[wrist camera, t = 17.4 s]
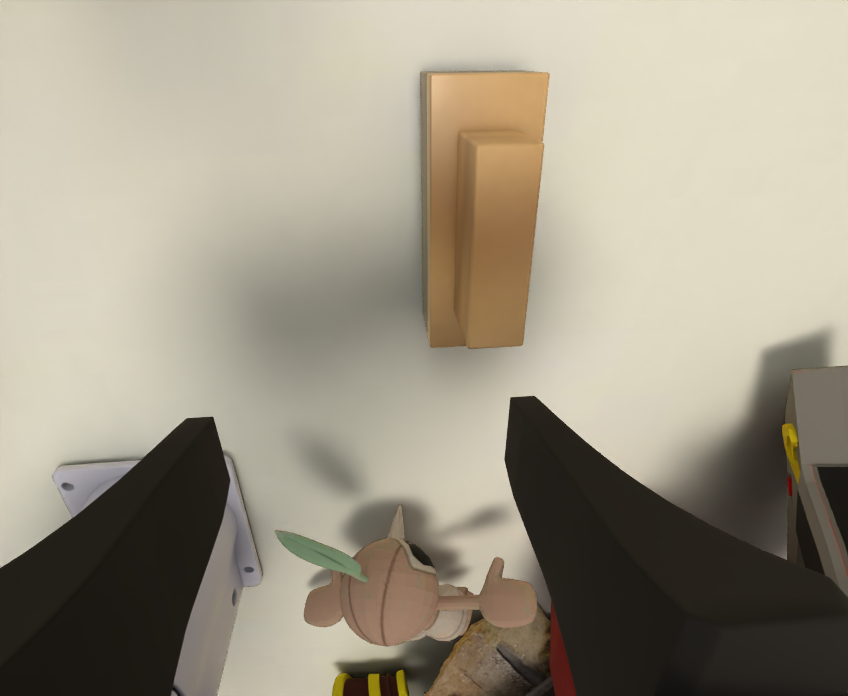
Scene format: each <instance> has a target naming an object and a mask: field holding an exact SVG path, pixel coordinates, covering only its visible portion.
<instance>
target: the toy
mask: <svg viewBox="0 0 848 696" xmlns="http://www.w3.org/2000/svg"><path fill="white" fill-rule="evenodd" d="M275 533H276V535H277V537H278V539H279V541H280V542H281V543H282V544H283V545H284V546H285V547H286V548H287V549H288V550H289V551H290V552H292V553H293V554H295V555H297V556H298V557H300V558H302V559H304V560H306V561H308V562H311V563H313V564H316V565H318V566H321V567H324V568H327V569H331V570H332V582H331V583H330V584H329V585H326V586H322V587H318V588H316V589H314V590H312V591H311V592H310V593H309V595H308V597H307V600H306V604H305V609H304V619H305V621H306V622H307V623H308V624H311V625H314V626H318V627H329V626H332V625H334V624H336V623H337V622H339V621H340V620H341V618H342V617H344V619H345V620H346V622H347V624H348V626H349V627H350V628H351V629H352V630H353V631H354V632H355V633H356V634H357V635H358V636H359V637H360V638H362V639H364V640H365V641H367V642H369V643H371V644H376V645H381V646H393V645H399V644H401V643H403V642H406V641H416V640H419V639H422V638H423V637H424V636H430V637H431V638H433V639H436V640H438V641H450V640H453V639H455V638H456V637H457V636H462V635H463V634H465V632H466V630H467V629H468V626H469V623H470V620H471V616H472V611H473V610H480V611H481V613H482V615H483V616H484V618H485V619H486V620H487V621H488V622H489V623H491V624H493V625H495V626H497V627H502V628H512V627H519V626H524V625H527V624H529V623H531V622H533V621H534V619H535V617H536V615H537V596H536V591H535V589H534V588H533V586H532V585H531V584H529V583H527V582H524V581H520V580H514V579H506V578H502V572H503V568H504V561H503V560H502V559H501V558H499V557H496V558H494V560H493V562H492V565H491V567H490V569H489V572H488V574H487V576H486V580H485V583H484V586H483V588H482V590H481V593H480V595H474V594H473V593H471V592H469V591H468V589H467V588H466V587H455V586H453V585H449V584H444V585H438V581H437V576H436V572H435V567H434V566H433V564H432V562H431V560H430V558H429V557H428V556H427V555H426V554H425V553H424V552H423V551H422V550H421V548H419V547H418V546H416V545H415V544H412V543H410V542H408V541H406V540H405V537H404V525H403V515H402V507H401V505H399V506H398V509H397V512H396V514H395V517H394V520H393V522H392V525H391V528H390V531H389V534H388V537H387V538H386V539H382V540H378V541H374V542H372V543H371V544H369V545H367V546H366V547H364V548H362V549H361V550H360V551H359V552H358V553H357V554H356V555H355V556H354V557H353V558H352V557H350V556H348V555H346V554H345V553H343V552H341V551H338V550H336V549H334V548H332V547H329V546H327V545H324V544H321V543H319V542H317V541H314V540H311V539H309V538H306V537H303V536H301V535H297V534H294V533H290V532H286V531H279V530H275ZM343 573H344V575H343Z"/></svg>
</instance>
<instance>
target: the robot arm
mask: <svg viewBox="0 0 848 696" xmlns="http://www.w3.org/2000/svg"><path fill="white" fill-rule="evenodd" d="M505 464H506V468H507V472H508V477H509V481H510V485H511V489H512V493H513V496H514V499H515V502H516V505H517V507H518V510H519V513H520V515H521V518H522V521H523V523H524V526H525V528H526V531H527V534H528V536H529V539H530V541H531V544H532V547H533V549H534V552H535V554H536V557H537V560H538V562H539V565H540V567H541V570H542V572H543V575H544V578H545V581H546V584H547V587H548V590H549V593H550V596H551V599H552V603H553V607H554V610H555V614H556V618H557V621H558V625H559V628H560V632H561V636H562V640H563V643H564V647H565V651H566V655H567V659H568V663H569V667H570V671H571V674H572V678H573V682H574V687H575V691H576V695H577V696H848V693H847V692H846V691H847V690H848V597H847V596H846V594H845V593H844V592H843V591H842V590H841V589H840V588H839V587H838V586H837V585H836V583H835V582H834V581H833V580H832V579H831V578H830V577H827V576H825V575H822V574H820V573H818V572H815V571H813V570H810V569H808V568H805V567H803V566H800V565H798V564H795V563H793V562H790V561H788V560H785V559H783V558H780V557H778V556H776V555H773V554H771V553H768V552H766V551H764V550H762V549H759V548H757V547H755V546H753V545H751V544H749V543H747V542H745V541H742V540H740V539H738V538H736V537H734V536H732V535H730V534H728V533H726V532H724V531H722V530H720V529H718V528H716V527H714V526H712V525H710V524H708V523H706V522H704V521H703V520H701V519H699V518H697V517H695V516H694V515H692V514H690V513H688V512H686V511H684V510H683V509H681V508H679V507H677V506H676V505H674V504H672V503H671V502H669V501H667V500H666V499H664V498H662V497H661V496H659V495H658V494H656V493H655V492H653V491H652V490H650V489H649V488H647V487H645V486H644V485H642V484H641V483H639V482H638V481H636V480H635V479H633V478H632V477H631V476H629V475H628V474H626V473H625V472H624V471H622V470H621V469H620V468H618V467H617V466H616V465H614V464H613V463H612V462H610V461H609V460H608V459H606V458H605V457H604V456H603V455H601V454H600V453H599V452H598V451H596V450H595V449H594V448H593V447H591V446H590V445H589V444H588V443H587V442H585V441H584V440H583V439H582V438H581V437H580V436H578V435H577V434H576V433H575V432H574V431H573V430H572V429H570V428H569V427H568V426H567V425H566V424H565V423H564V422H563V421H562V420H560V419H559V418H558V417H557V416H556V415H555V414H554V413H553V412H552V411H551V410H550V409H548V408H547V407H546V406H545V405H544V404H543V403H542V402H541V401H540V400H539V399H537V398H536V397H535V396H527V397H511V399H510V409H509V419H508V429H507V440H506V450H505ZM52 478H53V480H54V482H55V484H56V486H57V488H58V490H59V492H60V494H61V496H62V498H63V500H64V502H65V504H66V506H67V508H68V509H69V511H70V513H71V515H72V517H73V518H72V519H71V520H69V521H68V522H67V523H65V524H64V525H63V526H61V527H60V528H59V529H57V530H56V531H54V532H53V533H52V534H50V535H49V536H47V537H46V538H45V539H43V540H42V541H40V542H39V543H38V544H36V545H35V546H33V547H32V548H31V549H29V550H28V551H26V552H25V553H23V554H22V555H20V556H19V557H17V558H15V559H14V560H12V561H11V562H9V563H8V564H6V565H4V566H3V567H1V568H0V696H217V694H218V690H219V687H220V682H221V678H222V674H223V670H224V665H225V661H226V657H227V653H228V648H229V644H230V640H231V636H232V632H233V627H234V623H235V619H236V615H237V610H238V606H239V602H240V598H241V593H242V589H243V587H252V586H257V585H259V584H260V583H261V581H262V571H261V568H260V564H259V560H258V556H257V552H256V549H255V545H254V541H253V537H252V534H251V530H250V526H249V522H248V519H247V515H246V511H245V507H244V504H243V500H242V496H241V492H240V488H239V485H238V481H237V477H236V473H235V470H234V466H233V462H232V460H231V459H230V458H229V457H228V456H226V455H224V454H223V451H222V447H221V443H220V440H219V436H218V432H217V429H216V425H215V421H214V418H213V417H201V418H187V419H186V420H184V421H183V422H182V423H181V424H180V425H179V426H177V427H176V428H175V429H174V430H173V431H172V432H171V433H170V434H169V435H168V436H167V437H165V438H164V439H163V440H162V441H161V442H160V443H159V444H158V445H157V446H156V447H155V448H154V449H153V450H152V451H150V452H149V453H148V454H147V455H146V456H145V457H144V458H143V459H142V460H134V461H120V462H106V463H92V464H77V465H63V466H59V467H58V468H57V469H56V470H55V471H54V473H53V475H52ZM69 483H70V484H69Z"/></svg>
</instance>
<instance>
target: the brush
mask: <svg viewBox="0 0 848 696" xmlns="http://www.w3.org/2000/svg"><path fill="white" fill-rule="evenodd" d="M548 84H549V73H548V72H534V71H432V72H421V73H420V85H421V190H422V295H423V317H424V321H425V326H426V330H427V334H428V339H429V344H430V347H431V348H437V347H455V346H467V348H469V349H477V348H495V347H512V346H522V345H523V340H524V330H525V321H526V311H527V302H528V293H529V283H530V274H531V264H532V255H533V246H534V236H535V227H536V217H537V208H538V198H539V189H540V180H541V170H542V161H543V151H544V144H543V143H542V141H543V132H544V122H545V113H546V103H547V93H548Z"/></svg>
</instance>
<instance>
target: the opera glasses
mask: <svg viewBox="0 0 848 696" xmlns="http://www.w3.org/2000/svg"><path fill="white" fill-rule="evenodd" d="M332 696H409V690H408V686H407V681H406V677H405V673H404V670H400V671H397V673H396V676H390V675H389V674H386V676H385V677H381V676H380V674H369V675H368V678H351V676H350V675H349V674H347V673H342V674H340V675H338V676H337V678H336V679H335V682H334V685H333V691H332Z"/></svg>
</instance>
